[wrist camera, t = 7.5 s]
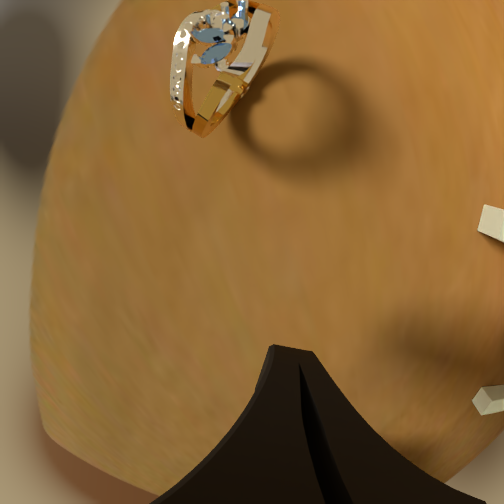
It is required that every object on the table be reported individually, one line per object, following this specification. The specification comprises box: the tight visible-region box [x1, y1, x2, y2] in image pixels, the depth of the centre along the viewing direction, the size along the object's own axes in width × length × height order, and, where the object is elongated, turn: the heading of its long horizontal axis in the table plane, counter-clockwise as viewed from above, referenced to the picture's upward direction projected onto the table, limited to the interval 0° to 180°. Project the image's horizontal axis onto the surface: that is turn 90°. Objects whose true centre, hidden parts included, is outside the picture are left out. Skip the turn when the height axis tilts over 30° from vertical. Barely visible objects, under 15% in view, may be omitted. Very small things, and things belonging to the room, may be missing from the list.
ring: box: [170, 0, 280, 138], centre depth 11 cm, size 7×3×8 cm, turn 146°
